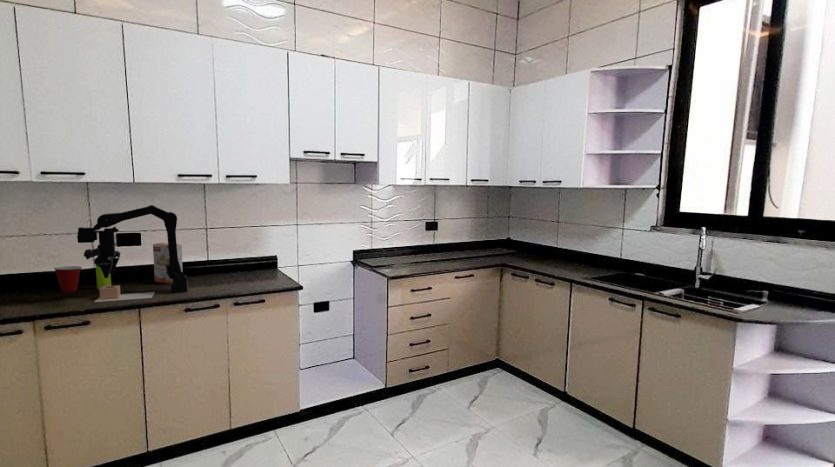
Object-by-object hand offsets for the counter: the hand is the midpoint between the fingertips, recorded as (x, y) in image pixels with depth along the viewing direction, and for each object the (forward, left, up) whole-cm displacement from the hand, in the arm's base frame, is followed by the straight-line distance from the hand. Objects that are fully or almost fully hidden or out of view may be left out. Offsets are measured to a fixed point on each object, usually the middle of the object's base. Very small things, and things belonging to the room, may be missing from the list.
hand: (108, 276), depth 200 cm
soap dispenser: (+8, -25, -11) cm, 29 cm away
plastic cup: (+22, -25, -11) cm, 35 cm away
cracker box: (-20, -30, -11) cm, 38 cm away
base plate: (-6, 0, -11) cm, 13 cm away
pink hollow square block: (0, 0, -10) cm, 10 cm away
